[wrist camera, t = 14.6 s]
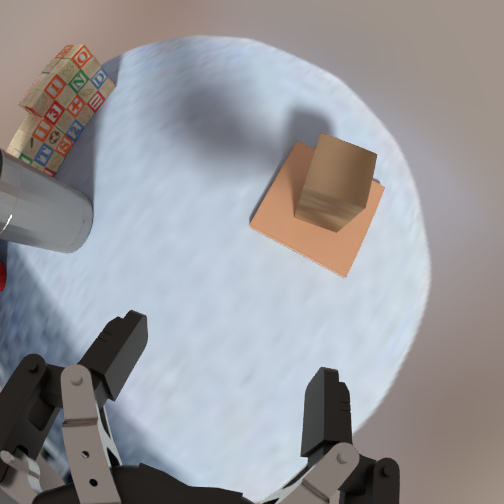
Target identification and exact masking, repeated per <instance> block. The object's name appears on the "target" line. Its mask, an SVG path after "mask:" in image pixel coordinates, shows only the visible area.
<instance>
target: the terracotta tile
mask: <svg viewBox="0 0 504 504" xmlns="http://www.w3.org/2000/svg"><path fill="white" fill-rule="evenodd" d="M314 153H315V149H313V148H311V147H309V146H307V145H305V144H303V143H300V142H298V141H297V142H296V144H295V146H294V147H293V149H292V151H291V152H290V154H289V156H288V158H287V159H286V161H285V163H284V165H283V166H282V168H281V170H280V172H279V173H278V175H277V177H276V179H275V180H274V182H273V184H272V186H271V188H270V189H269V191H268V193H267V195H266V196H265V198H264V200H263V202H262V203H261V205H260V207H259V209H258V211H257V212H256V214H255V216H254V218H253V219H252V221H251V223H250V225H249V227H250V228H251V229H253V230H255V231H257V232H259V233H261V234H263V235H265V236H266V237H268V238H270V239H272V240H274V241H276V242H278V243H280V244H282V245H284V246H285V247H287V248H289V249H291V250H293V251H295V252H297V253H299V254H300V255H302V256H304V257H306V258H308V259H310V260H312V261H313V262H315V263H317V264H319V265H321V266H323V267H325V268H326V269H328V270H330V271H332V272H334V273H336V274H337V275H339V276H341V277H343V278H345V277H346V276H347V274H348V272H349V270H350V268H351V266H352V264H353V262H354V260H355V258H356V255H357V253H358V251H359V249H360V247H361V244H362V242H363V240H364V238H365V235H366V233H367V231H368V228H369V226H370V224H371V221H372V219H373V216H374V214H375V212H376V209H377V207H378V204H379V202H380V199H381V197H382V194H383V191H384V189H385V187H384V186H382V185H380V184H379V183H377V182H375V181H373V180H372V183H371V188H370V192H369V196H368V201H367V205H366V208H365V209H364V210H363V211H362V212H360V213H359V214H358V215H357V216H356V217H355V218H353V219H352V220H351V221H350V222H349V223H348V224H346V225H345V226H344V227H343V228H342V229H341V230H339V231H338V232H337V233H335V232H333V231H330V230H327V229H324V228H322V227H319V226H316V225H313V224H310V223H308V222H305V221H302V220H299V219H296V218H294V216H295V213H296V210H297V206H298V203H299V200H300V197H301V193H302V190H303V187H304V184H305V181H306V178H307V174H308V171H309V168H310V165H311V162H312V159H313V156H314Z"/></svg>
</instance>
